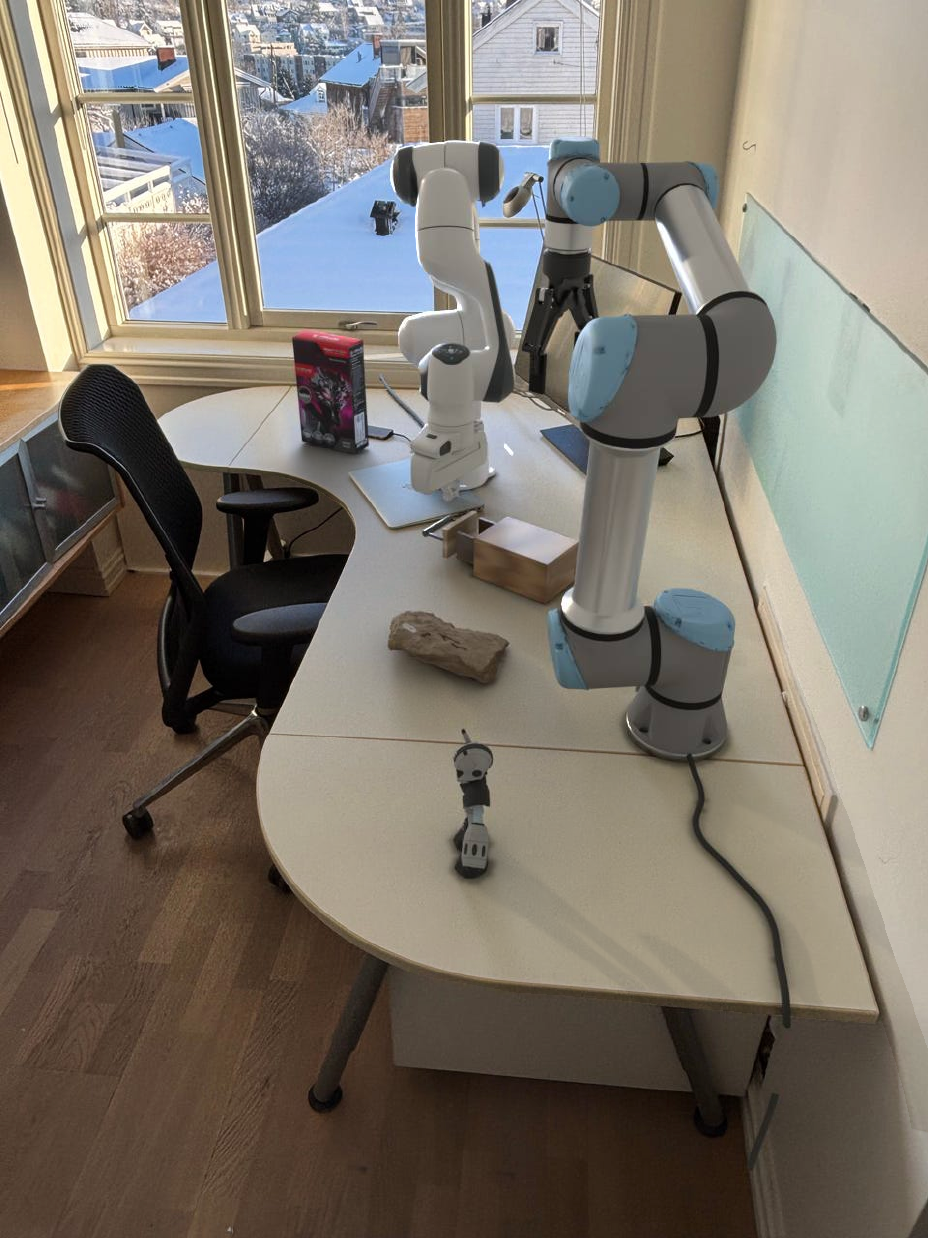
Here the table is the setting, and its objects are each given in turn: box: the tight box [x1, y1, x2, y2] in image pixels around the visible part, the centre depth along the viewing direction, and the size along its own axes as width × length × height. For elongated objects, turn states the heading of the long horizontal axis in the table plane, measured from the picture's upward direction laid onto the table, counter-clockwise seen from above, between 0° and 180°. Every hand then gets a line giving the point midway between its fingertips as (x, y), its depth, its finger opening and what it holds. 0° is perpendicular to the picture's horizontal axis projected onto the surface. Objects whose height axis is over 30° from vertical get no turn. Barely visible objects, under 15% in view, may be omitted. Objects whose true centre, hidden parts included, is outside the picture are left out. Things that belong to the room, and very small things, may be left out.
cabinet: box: [472, 515, 579, 605], centre depth 178 cm, size 17×11×9 cm
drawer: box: [421, 510, 497, 566], centre depth 184 cm, size 21×10×6 cm, turn 53°
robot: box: [452, 728, 494, 879], centre depth 116 cm, size 20×5×20 cm, turn 3°
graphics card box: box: [291, 329, 370, 455], centre depth 226 cm, size 17×7×27 cm, turn 62°
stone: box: [387, 610, 510, 685], centre depth 156 cm, size 21×15×6 cm
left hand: (450, 498), depth 183 cm, fingers closed
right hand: (558, 381), depth 156 cm, fingers open, 13 cm apart
